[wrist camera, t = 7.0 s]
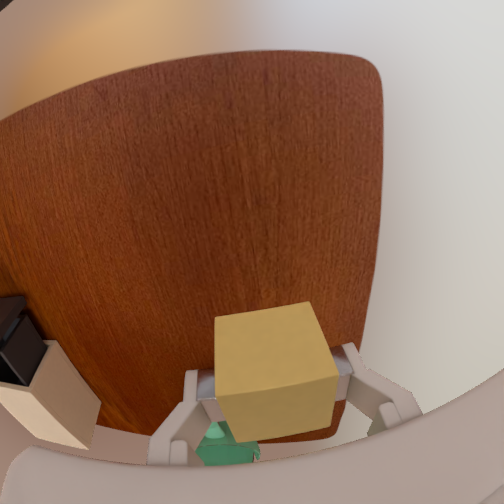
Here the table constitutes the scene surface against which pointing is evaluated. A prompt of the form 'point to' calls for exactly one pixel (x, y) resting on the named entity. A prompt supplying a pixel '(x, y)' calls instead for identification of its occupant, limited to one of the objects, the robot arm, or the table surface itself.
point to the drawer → (18, 343)
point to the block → (274, 372)
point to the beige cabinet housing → (54, 401)
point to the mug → (225, 447)
